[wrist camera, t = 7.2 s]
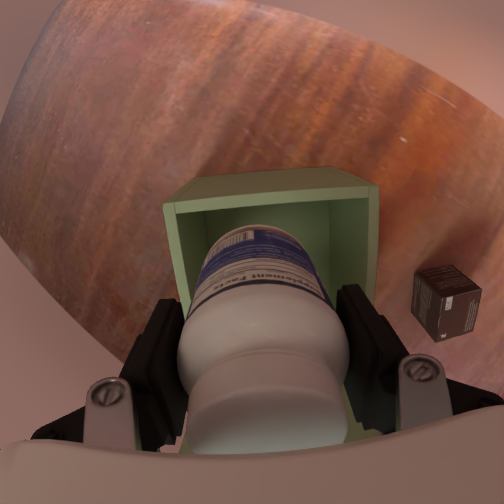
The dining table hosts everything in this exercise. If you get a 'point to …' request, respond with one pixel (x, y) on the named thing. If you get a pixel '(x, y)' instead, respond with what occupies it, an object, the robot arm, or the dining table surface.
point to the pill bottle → (262, 349)
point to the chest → (280, 221)
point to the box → (445, 302)
